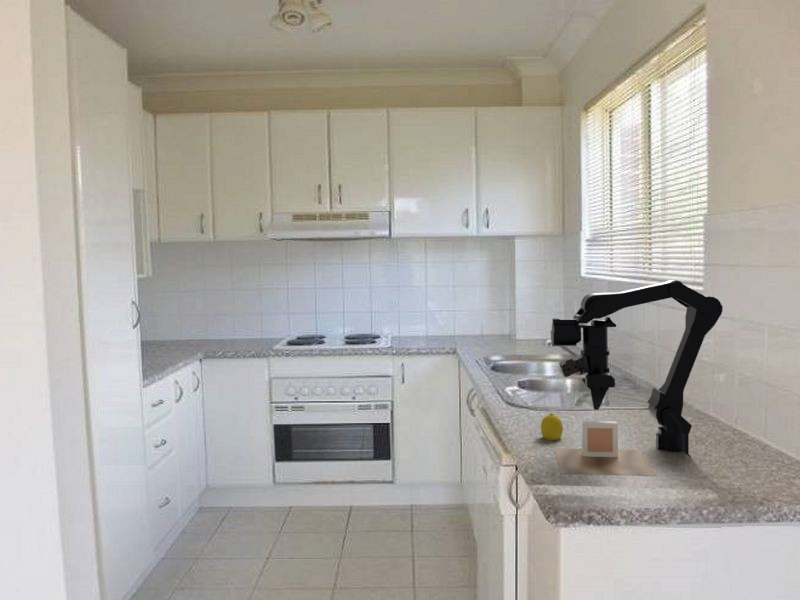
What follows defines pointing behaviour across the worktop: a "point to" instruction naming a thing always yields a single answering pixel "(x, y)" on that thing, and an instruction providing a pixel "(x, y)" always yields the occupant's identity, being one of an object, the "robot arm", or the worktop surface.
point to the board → (603, 463)
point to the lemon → (551, 427)
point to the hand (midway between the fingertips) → (596, 409)
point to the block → (599, 438)
